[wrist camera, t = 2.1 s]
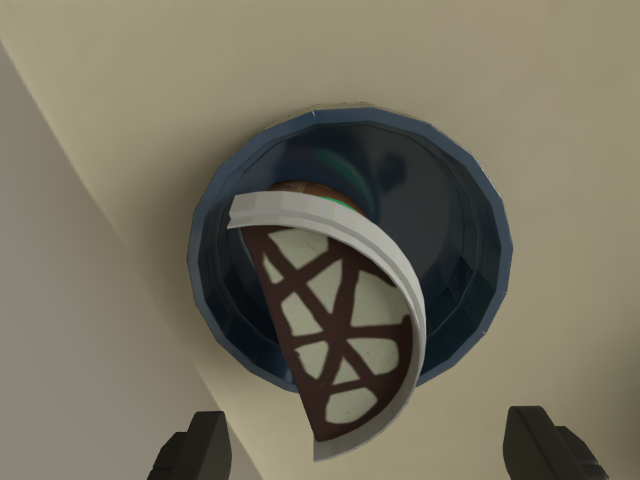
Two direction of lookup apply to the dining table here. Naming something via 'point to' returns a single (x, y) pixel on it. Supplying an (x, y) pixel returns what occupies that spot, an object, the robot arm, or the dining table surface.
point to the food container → (336, 308)
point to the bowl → (381, 209)
